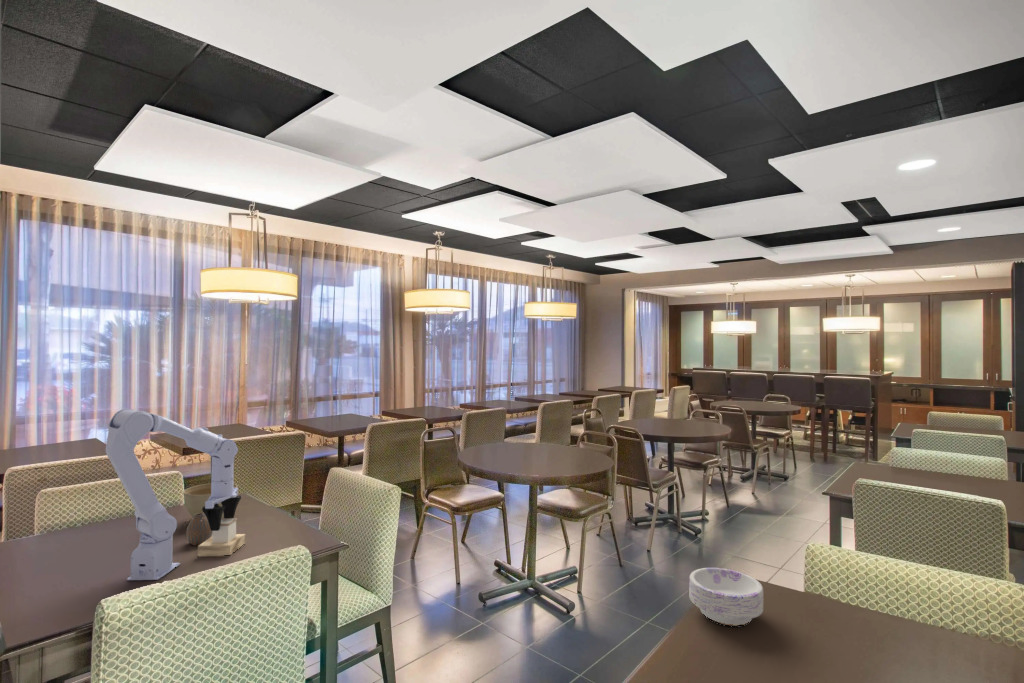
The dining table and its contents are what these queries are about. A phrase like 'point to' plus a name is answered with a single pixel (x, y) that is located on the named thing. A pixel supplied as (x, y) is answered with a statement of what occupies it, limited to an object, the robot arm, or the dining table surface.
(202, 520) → the vase
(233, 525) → the framed cream cube
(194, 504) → the planter bowl
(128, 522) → the dining table surface
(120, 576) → the dining table surface
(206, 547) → the block
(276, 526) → the dining table surface
